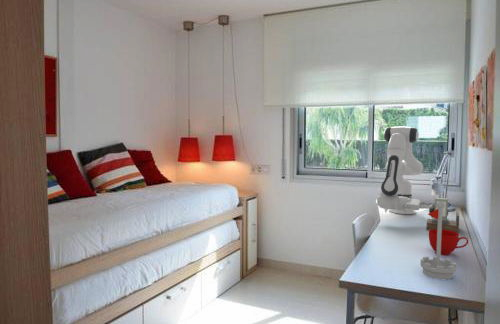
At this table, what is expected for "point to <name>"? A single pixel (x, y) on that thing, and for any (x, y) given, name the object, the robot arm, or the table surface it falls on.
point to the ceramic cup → (445, 241)
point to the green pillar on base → (444, 210)
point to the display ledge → (445, 225)
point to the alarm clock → (434, 209)
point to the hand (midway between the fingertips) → (428, 205)
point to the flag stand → (438, 254)
